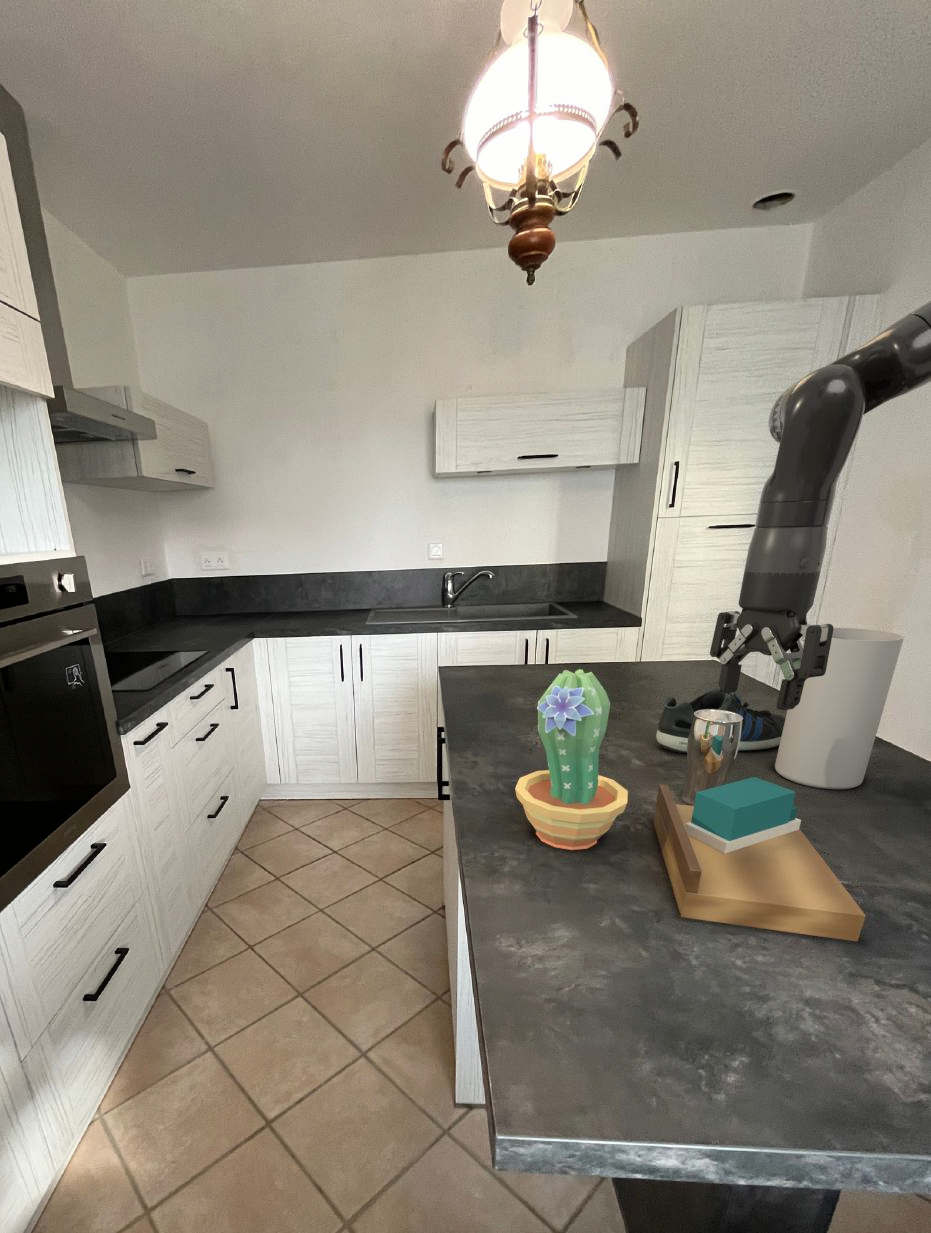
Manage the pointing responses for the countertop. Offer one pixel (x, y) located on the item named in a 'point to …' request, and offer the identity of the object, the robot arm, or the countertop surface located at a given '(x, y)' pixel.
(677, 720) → the water shoe
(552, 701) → the potted cactus
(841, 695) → the cylinder vase
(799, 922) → the wooden board with lip
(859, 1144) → the countertop surface
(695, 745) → the silver metal cup
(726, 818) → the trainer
